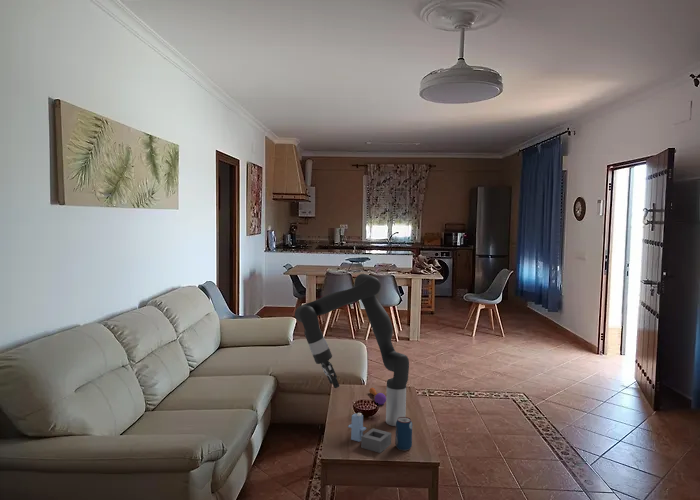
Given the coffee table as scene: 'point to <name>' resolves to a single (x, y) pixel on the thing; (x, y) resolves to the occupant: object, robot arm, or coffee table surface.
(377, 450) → the grey block with hole
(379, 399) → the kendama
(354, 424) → the block
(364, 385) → the coffee table surface
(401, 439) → the soda can
